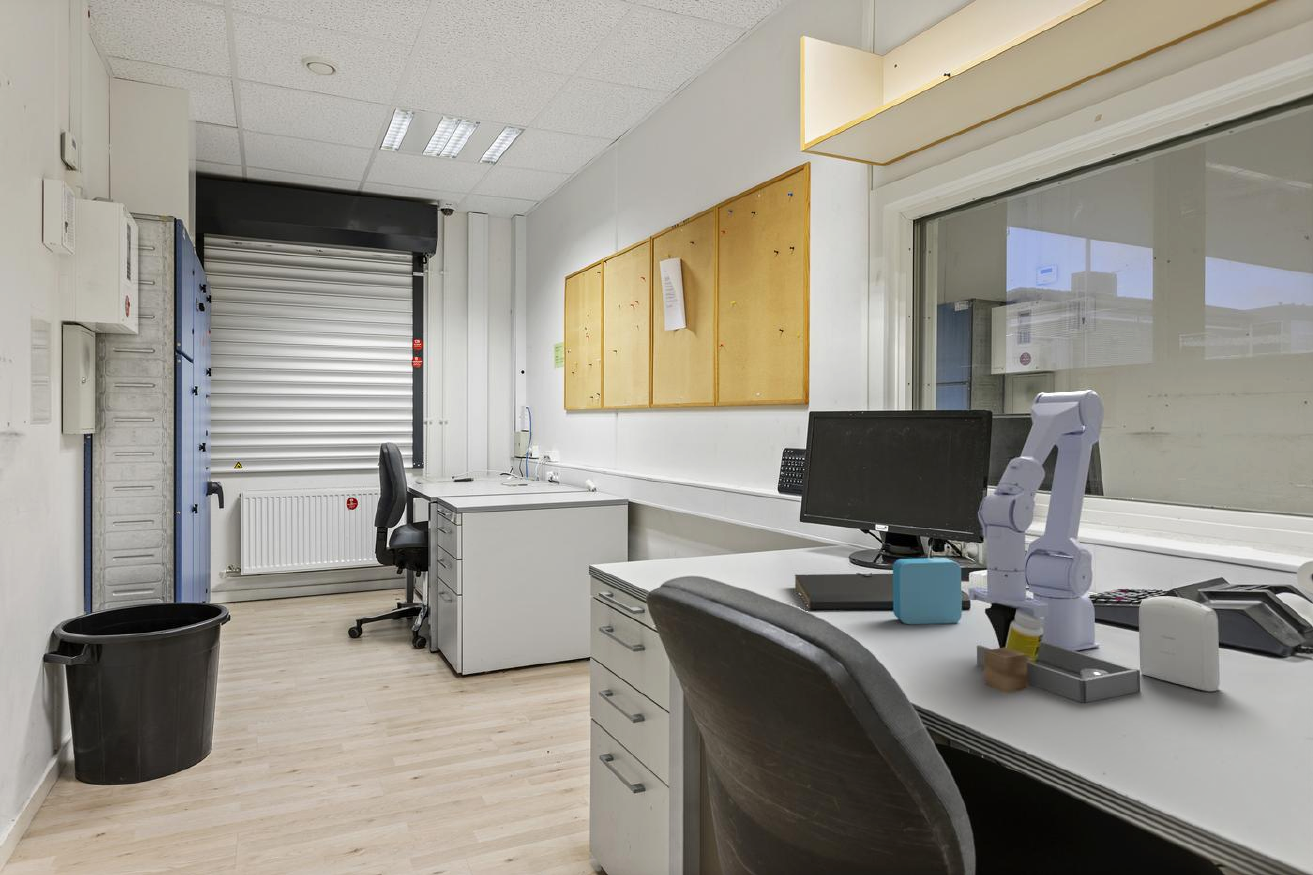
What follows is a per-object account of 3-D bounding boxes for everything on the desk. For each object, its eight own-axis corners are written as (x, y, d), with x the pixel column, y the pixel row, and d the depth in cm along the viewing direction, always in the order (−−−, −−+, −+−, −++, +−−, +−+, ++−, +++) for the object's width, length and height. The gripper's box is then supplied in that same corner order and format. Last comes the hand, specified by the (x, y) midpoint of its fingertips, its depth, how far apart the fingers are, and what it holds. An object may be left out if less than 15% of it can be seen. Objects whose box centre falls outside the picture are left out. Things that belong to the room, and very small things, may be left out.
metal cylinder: (1093, 686, 113) (1092, 667, 113) (1116, 694, 109) (1115, 674, 109) (1075, 690, 111) (1074, 670, 111) (1097, 697, 108) (1097, 677, 108)
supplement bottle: (1037, 672, 120) (1049, 624, 117) (1005, 666, 121) (1015, 618, 119) (1032, 657, 124) (1043, 610, 122) (1001, 650, 125) (1011, 604, 123)
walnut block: (1005, 680, 116) (1004, 647, 116) (1027, 688, 112) (1026, 654, 112) (984, 684, 114) (984, 650, 114) (1006, 692, 111) (1005, 657, 111)
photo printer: (1134, 674, 117) (1133, 593, 117) (1152, 670, 119) (1151, 590, 119) (1207, 694, 108) (1206, 606, 108) (1225, 689, 110) (1224, 603, 110)
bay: (1029, 655, 128) (1029, 637, 128) (1140, 691, 110) (1139, 670, 110) (977, 664, 124) (976, 645, 124) (1082, 703, 106) (1082, 681, 106)
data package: (952, 617, 154) (951, 557, 154) (962, 623, 150) (961, 561, 149) (893, 619, 154) (892, 559, 154) (900, 624, 149) (899, 562, 149)
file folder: (934, 571, 184) (970, 594, 160) (934, 588, 184) (970, 614, 160) (794, 572, 186) (809, 596, 161) (794, 589, 186) (810, 615, 162)
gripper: (954, 563, 130) (955, 643, 130) (1023, 578, 117) (1024, 668, 117) (986, 560, 133) (987, 639, 133) (1058, 574, 119) (1059, 662, 119)
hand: (1007, 652), depth 125 cm, fingers closed, pressing on supplement bottle
